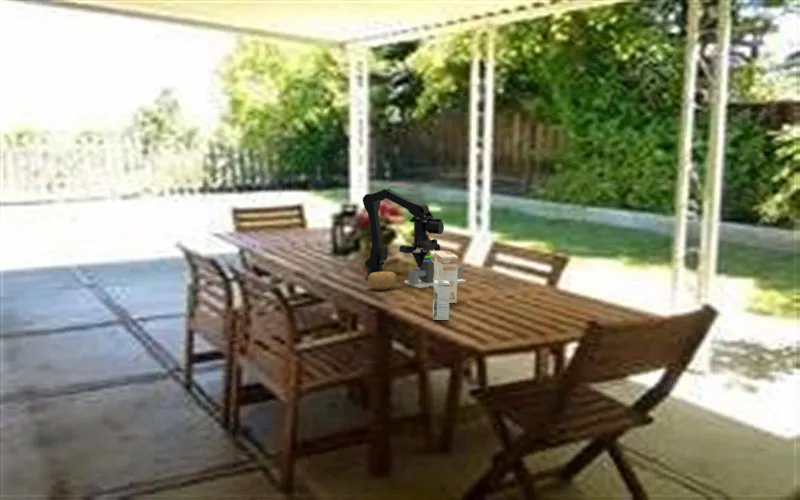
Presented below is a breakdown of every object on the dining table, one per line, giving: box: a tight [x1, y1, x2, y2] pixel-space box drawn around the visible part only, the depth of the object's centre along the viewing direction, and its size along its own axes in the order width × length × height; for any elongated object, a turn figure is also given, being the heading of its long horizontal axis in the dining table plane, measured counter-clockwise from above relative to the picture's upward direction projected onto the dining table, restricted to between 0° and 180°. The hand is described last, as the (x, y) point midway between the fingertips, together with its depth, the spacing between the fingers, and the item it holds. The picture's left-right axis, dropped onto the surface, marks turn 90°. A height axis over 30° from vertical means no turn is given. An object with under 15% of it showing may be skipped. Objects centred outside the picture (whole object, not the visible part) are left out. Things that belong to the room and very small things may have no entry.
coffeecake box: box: [433, 250, 459, 303], centre depth 369 cm, size 15×7×20 cm, turn 9°
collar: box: [419, 261, 434, 282], centre depth 403 cm, size 3×7×8 cm, turn 33°
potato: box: [367, 271, 397, 291], centre depth 390 cm, size 10×14×8 cm
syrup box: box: [432, 280, 450, 321], centre depth 337 cm, size 6×6×14 cm
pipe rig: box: [403, 265, 467, 289], centre depth 406 cm, size 26×12×7 cm, turn 123°
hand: (419, 266), depth 401 cm, fingers closed
